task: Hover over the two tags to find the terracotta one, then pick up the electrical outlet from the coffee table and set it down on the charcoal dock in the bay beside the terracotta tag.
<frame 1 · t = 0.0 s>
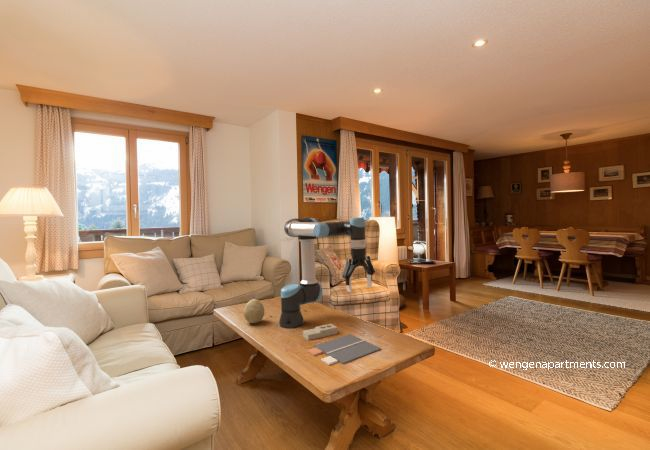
hand: (359, 289, 163), 28 cm above the table, tool pointing down, fingers open, 13 cm apart
fossilized egg: (254, 323, 201), on the table
electrical outlet: (320, 335, 178), on the table
dock: (346, 348, 159), on the table
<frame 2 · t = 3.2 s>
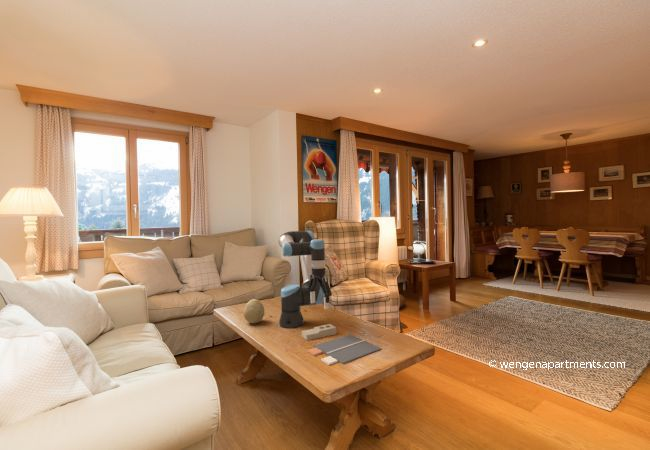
hand: (319, 305, 177), 16 cm above the table, tool pointing down, fingers open, 13 cm apart
nothing on the table moved.
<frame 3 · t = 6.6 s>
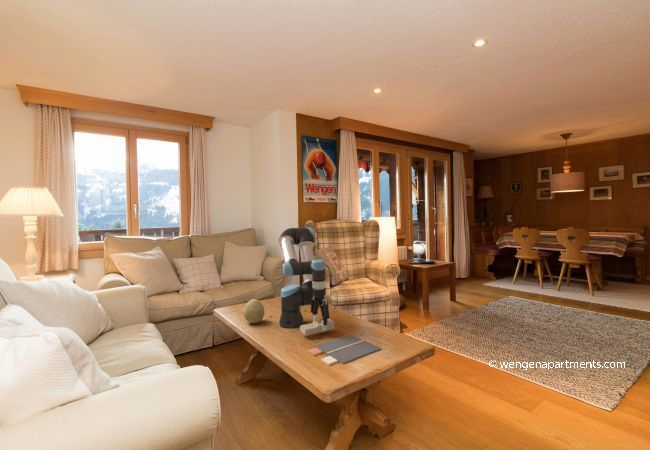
hand: (320, 328, 178), 3 cm above the table, tool pointing down, fingers closed on electrical outlet, 8 cm apart
electrical outlet: (317, 330, 177), point 2 cm above the table, touching gripper
everything else where it was.
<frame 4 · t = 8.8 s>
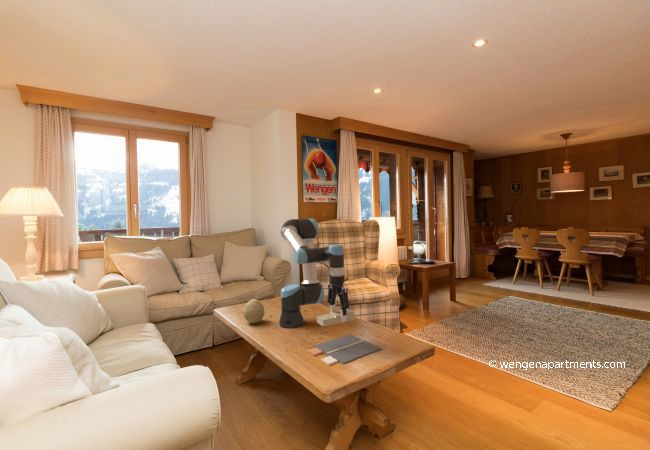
hand: (338, 319, 163), 13 cm above the table, tool pointing down, fingers closed on electrical outlet, 8 cm apart
electrical outlet: (335, 321, 163), point 12 cm above the table, touching gripper
everything else where it was.
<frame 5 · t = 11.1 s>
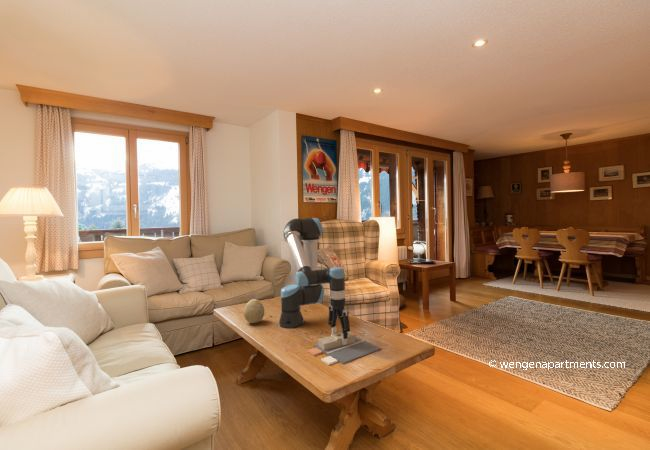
hand: (339, 341, 164), 1 cm above the table, tool pointing down, fingers closed on electrical outlet, 8 cm apart
electrical outlet: (336, 344, 163), resting on dock, touching gripper
everything else where it was.
when the fingers open (1 cm above the table, at t = 11.7 s): electrical outlet stays where it is, resting on dock.
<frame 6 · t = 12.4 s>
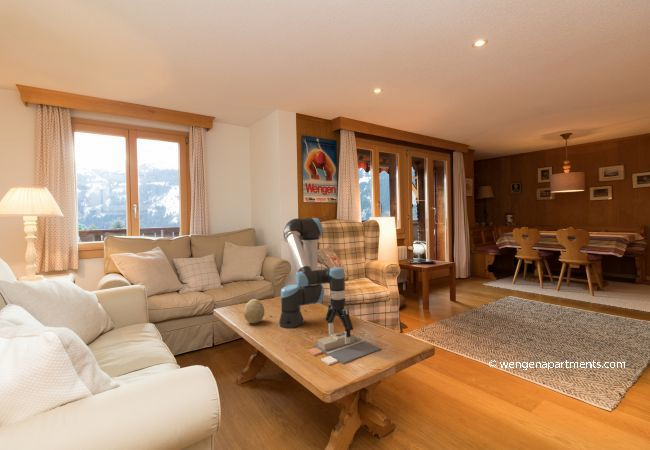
hand: (339, 339, 164), 3 cm above the table, tool pointing down, fingers open, 13 cm apart
electrical outlet: (336, 344, 163), resting on dock
everything else where it was.
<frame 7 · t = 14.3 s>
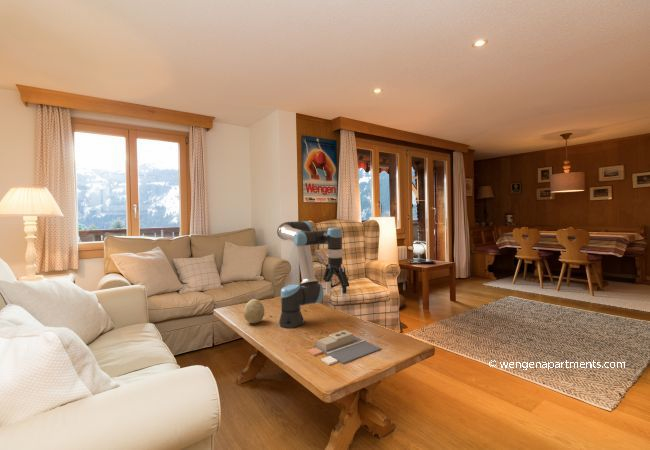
hand: (335, 296, 170), 23 cm above the table, tool pointing down, fingers open, 13 cm apart
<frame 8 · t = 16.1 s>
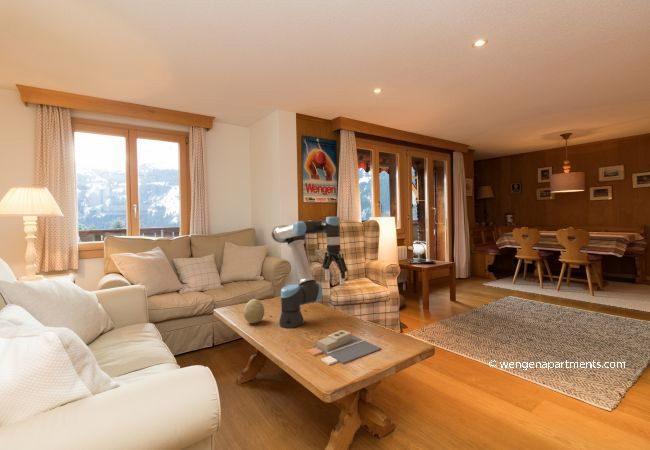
hand: (334, 282, 178), 29 cm above the table, tool pointing down, fingers open, 13 cm apart
at the end: electrical outlet inside the target area on the dock (2.3 cm from its centre), point 0.4 cm above the dock's base; electrical outlet touching dock; the gripper is holding nothing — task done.
